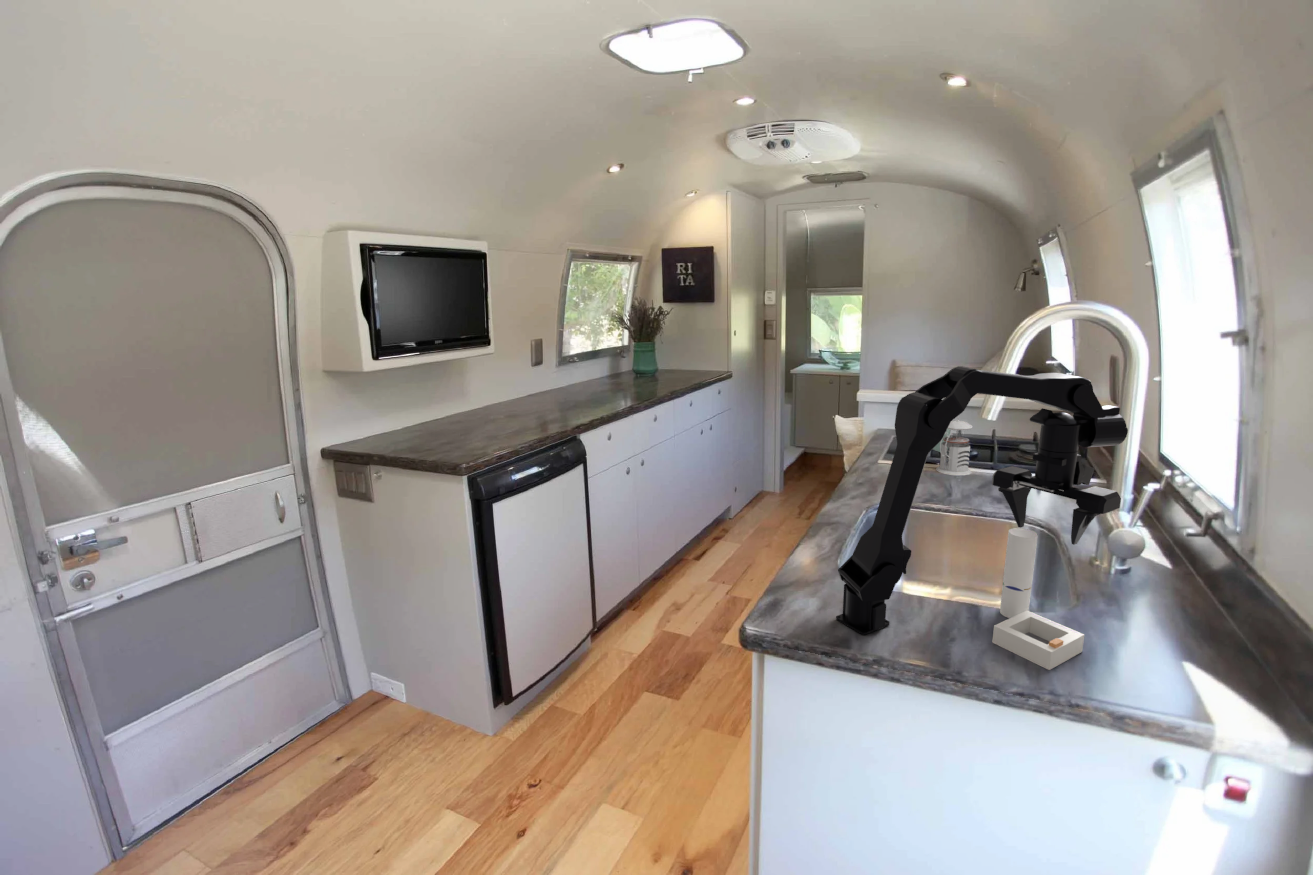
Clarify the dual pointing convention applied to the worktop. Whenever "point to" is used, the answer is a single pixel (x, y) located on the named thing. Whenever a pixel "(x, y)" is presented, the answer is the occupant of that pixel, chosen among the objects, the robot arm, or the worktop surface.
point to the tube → (1018, 571)
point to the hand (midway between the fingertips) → (1046, 535)
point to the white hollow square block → (1038, 639)
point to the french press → (955, 451)
